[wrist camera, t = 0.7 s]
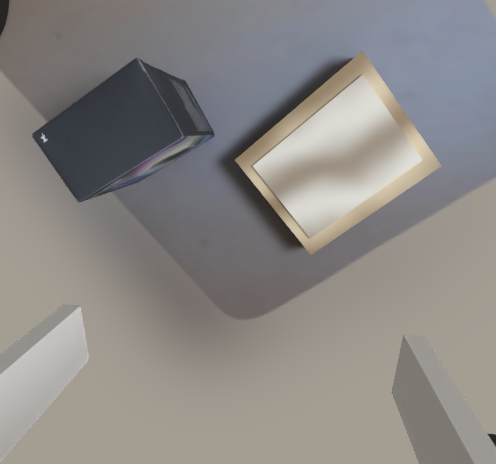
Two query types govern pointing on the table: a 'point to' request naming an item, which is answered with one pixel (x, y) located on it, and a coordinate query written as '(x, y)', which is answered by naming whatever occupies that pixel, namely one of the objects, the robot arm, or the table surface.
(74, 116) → the small box
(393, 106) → the beech picture frame
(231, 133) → the table surface
